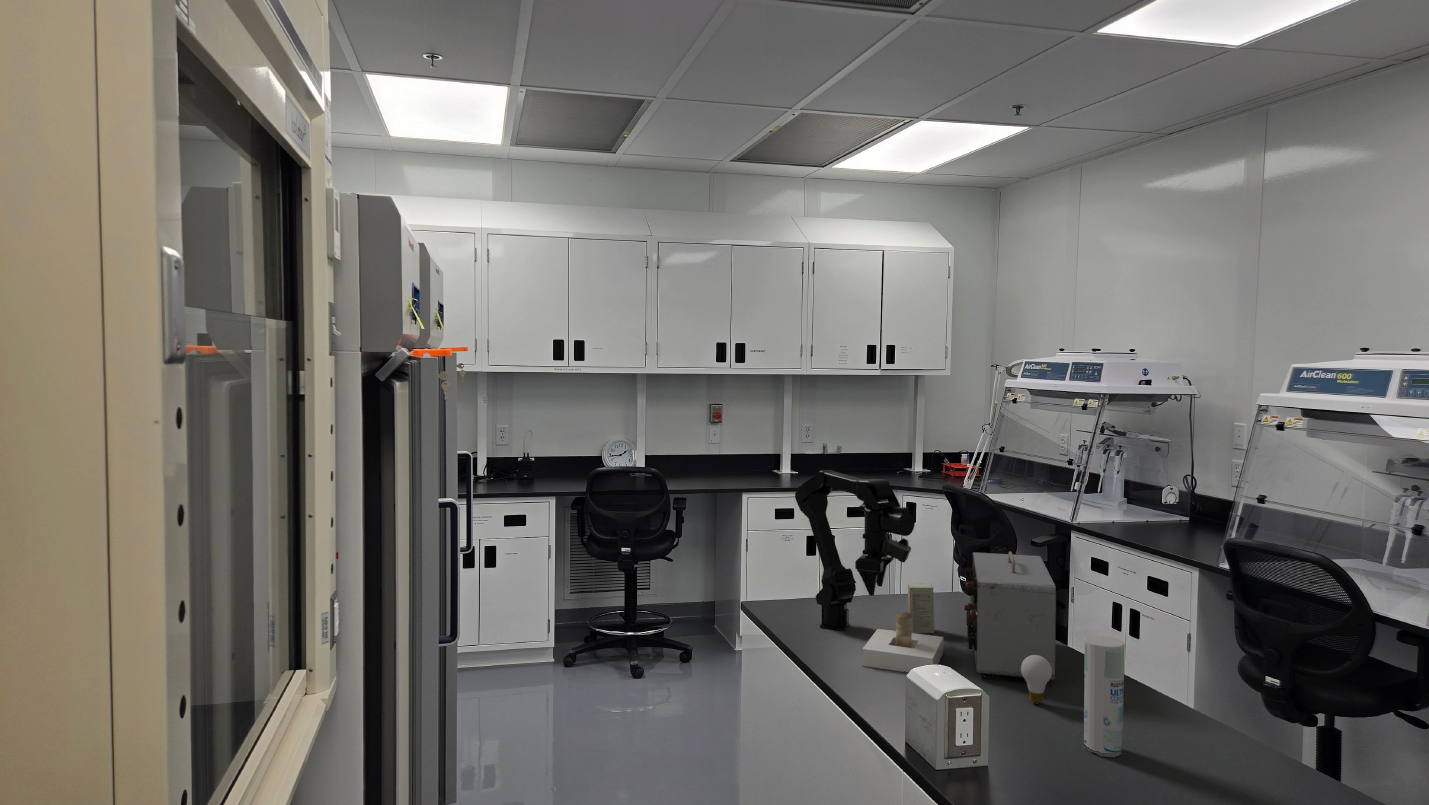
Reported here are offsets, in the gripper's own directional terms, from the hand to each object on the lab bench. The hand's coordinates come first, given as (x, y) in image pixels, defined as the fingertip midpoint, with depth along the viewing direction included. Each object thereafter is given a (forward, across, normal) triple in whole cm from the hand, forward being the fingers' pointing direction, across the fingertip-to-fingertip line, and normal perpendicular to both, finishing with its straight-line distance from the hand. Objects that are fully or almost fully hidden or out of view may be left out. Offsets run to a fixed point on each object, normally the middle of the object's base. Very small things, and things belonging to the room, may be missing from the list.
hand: (875, 590), depth 206 cm
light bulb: (+13, -25, -39) cm, 48 cm away
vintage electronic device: (+13, 0, -31) cm, 34 cm away
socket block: (+13, -10, -9) cm, 19 cm away
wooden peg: (+12, -10, -9) cm, 18 cm away
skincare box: (+13, +13, -9) cm, 21 cm away
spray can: (+13, -42, -51) cm, 67 cm away
